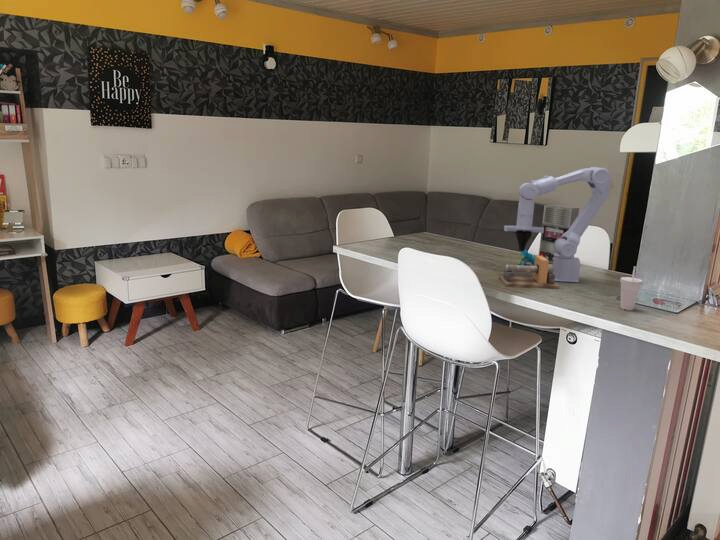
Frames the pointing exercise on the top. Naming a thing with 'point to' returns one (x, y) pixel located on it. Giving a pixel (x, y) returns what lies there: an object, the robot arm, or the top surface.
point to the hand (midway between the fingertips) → (521, 250)
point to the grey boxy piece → (555, 227)
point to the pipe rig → (527, 281)
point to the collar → (541, 269)
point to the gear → (527, 258)
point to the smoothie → (629, 291)
